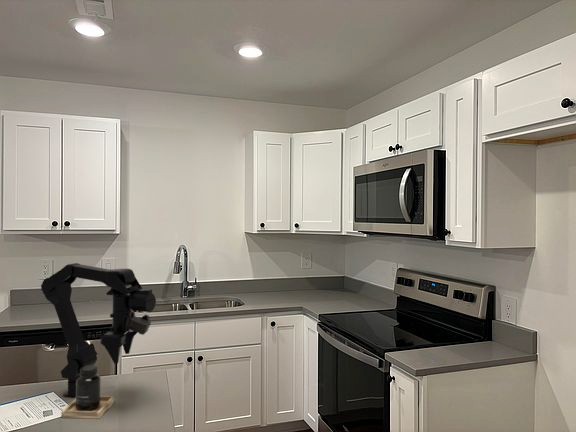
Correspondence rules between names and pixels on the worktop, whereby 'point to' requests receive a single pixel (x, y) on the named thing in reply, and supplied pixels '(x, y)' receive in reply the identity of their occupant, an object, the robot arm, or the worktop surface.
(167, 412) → the worktop surface
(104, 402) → the tray
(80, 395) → the supplement bottle
